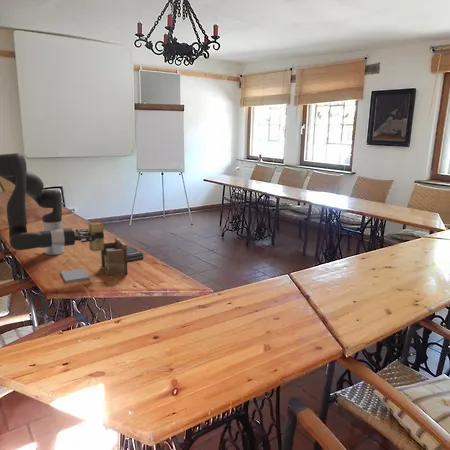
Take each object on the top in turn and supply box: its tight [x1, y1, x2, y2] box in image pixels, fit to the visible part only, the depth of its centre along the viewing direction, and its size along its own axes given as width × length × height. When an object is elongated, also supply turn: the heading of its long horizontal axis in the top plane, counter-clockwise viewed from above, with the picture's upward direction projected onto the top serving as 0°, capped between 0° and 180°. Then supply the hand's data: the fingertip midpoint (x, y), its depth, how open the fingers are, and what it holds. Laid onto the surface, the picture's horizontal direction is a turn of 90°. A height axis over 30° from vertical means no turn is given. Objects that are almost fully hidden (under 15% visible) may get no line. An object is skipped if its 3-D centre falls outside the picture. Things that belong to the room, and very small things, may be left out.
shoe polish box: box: [88, 221, 105, 252], centre depth 179 cm, size 5×5×12 cm
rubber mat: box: [60, 268, 91, 284], centre depth 178 cm, size 12×10×1 cm
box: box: [126, 244, 144, 263], centre depth 209 cm, size 14×4×20 cm
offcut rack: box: [100, 237, 128, 278], centre depth 185 cm, size 14×8×14 cm, turn 30°
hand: (101, 233), depth 180 cm, fingers closed on shoe polish box, 5 cm apart
